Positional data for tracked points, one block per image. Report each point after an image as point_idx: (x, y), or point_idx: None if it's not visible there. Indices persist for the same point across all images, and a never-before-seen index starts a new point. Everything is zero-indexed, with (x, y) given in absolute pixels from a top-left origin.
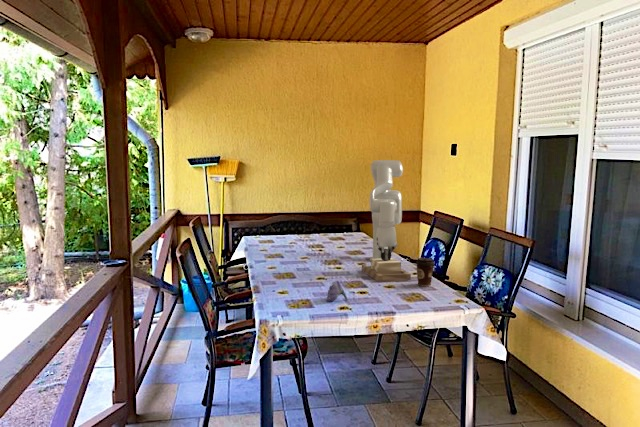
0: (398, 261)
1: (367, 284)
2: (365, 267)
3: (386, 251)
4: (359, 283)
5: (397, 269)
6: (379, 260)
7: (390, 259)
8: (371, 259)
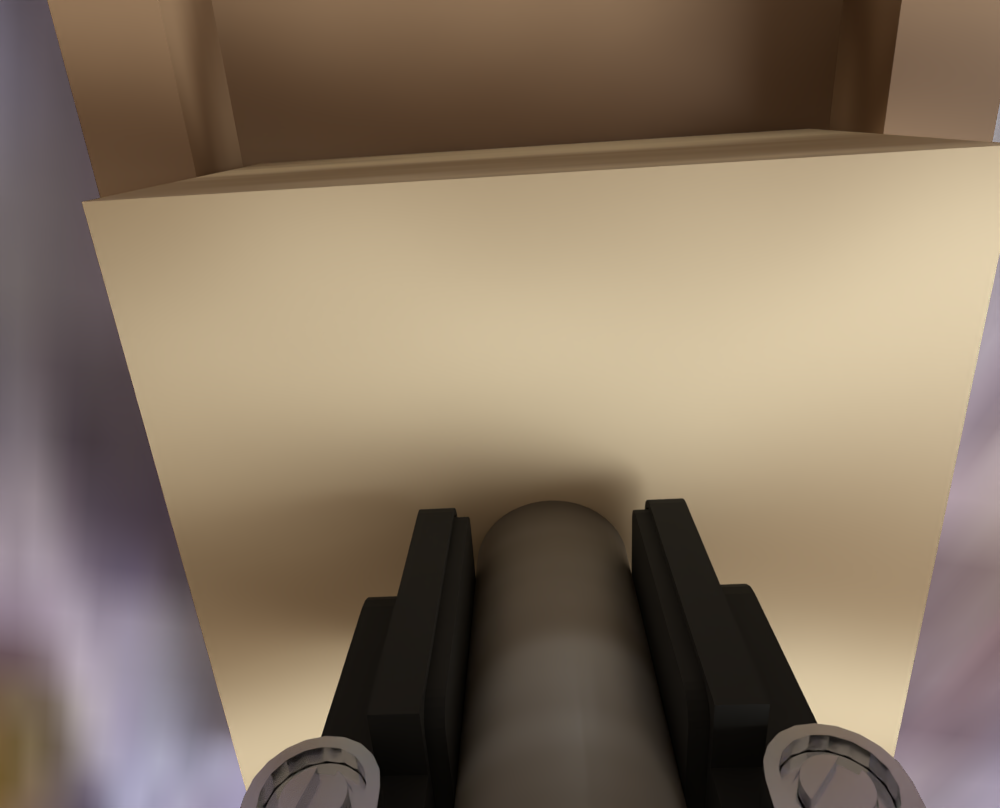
0: (875, 722)
1: (126, 800)
2: (81, 104)
3: None
4: (16, 748)
5: None
6: (346, 532)
7: (782, 439)
8: (108, 253)
